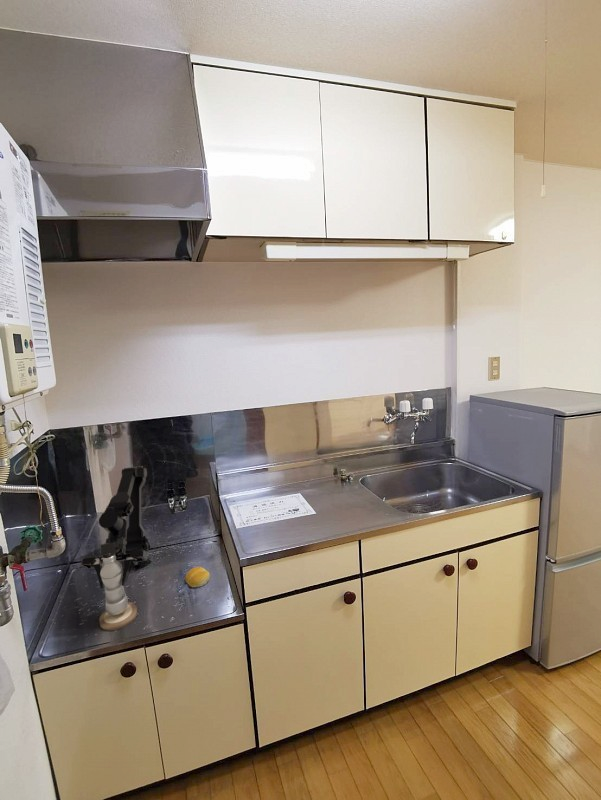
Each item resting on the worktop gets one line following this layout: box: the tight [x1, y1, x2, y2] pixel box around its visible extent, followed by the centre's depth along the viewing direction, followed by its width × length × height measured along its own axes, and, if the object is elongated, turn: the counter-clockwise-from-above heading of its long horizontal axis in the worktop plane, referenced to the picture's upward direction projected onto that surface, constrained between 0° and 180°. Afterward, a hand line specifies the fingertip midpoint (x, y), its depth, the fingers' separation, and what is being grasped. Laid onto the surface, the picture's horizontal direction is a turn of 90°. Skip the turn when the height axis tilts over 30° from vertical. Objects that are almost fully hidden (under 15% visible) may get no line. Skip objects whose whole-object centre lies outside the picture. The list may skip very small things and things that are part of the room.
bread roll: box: [184, 566, 211, 588], centre depth 143 cm, size 8×9×4 cm
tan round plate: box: [98, 601, 138, 631], centre depth 126 cm, size 11×11×2 cm
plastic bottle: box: [100, 553, 129, 616], centre depth 124 cm, size 6×7×20 cm
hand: (112, 587), depth 123 cm, fingers closed on plastic bottle, 6 cm apart
